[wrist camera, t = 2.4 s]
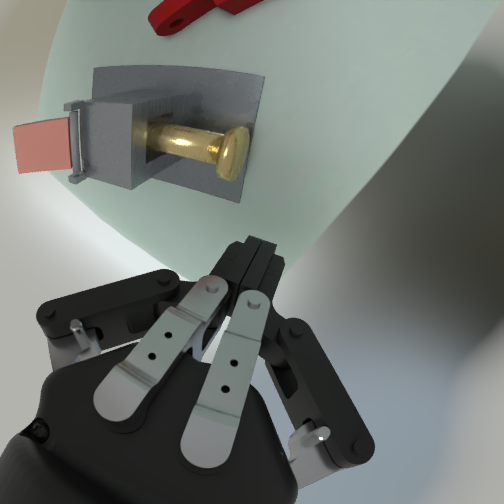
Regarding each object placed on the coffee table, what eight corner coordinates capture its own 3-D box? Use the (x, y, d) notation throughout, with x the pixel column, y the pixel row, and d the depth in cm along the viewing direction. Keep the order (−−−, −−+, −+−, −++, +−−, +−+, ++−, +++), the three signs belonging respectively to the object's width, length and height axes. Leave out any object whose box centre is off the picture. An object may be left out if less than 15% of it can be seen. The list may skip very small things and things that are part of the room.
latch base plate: (95, 67, 28) (30, 81, 19) (264, 76, 25) (219, 74, 16) (94, 162, 38) (40, 192, 29) (239, 202, 35) (197, 254, 25)
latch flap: (16, 120, 19) (12, 123, 18) (79, 110, 22) (76, 112, 21) (22, 174, 24) (19, 178, 23) (82, 169, 26) (79, 173, 25)
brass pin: (142, 105, 28) (111, 113, 24) (253, 123, 26) (233, 133, 22) (140, 146, 31) (111, 159, 27) (243, 171, 30) (224, 189, 25)
